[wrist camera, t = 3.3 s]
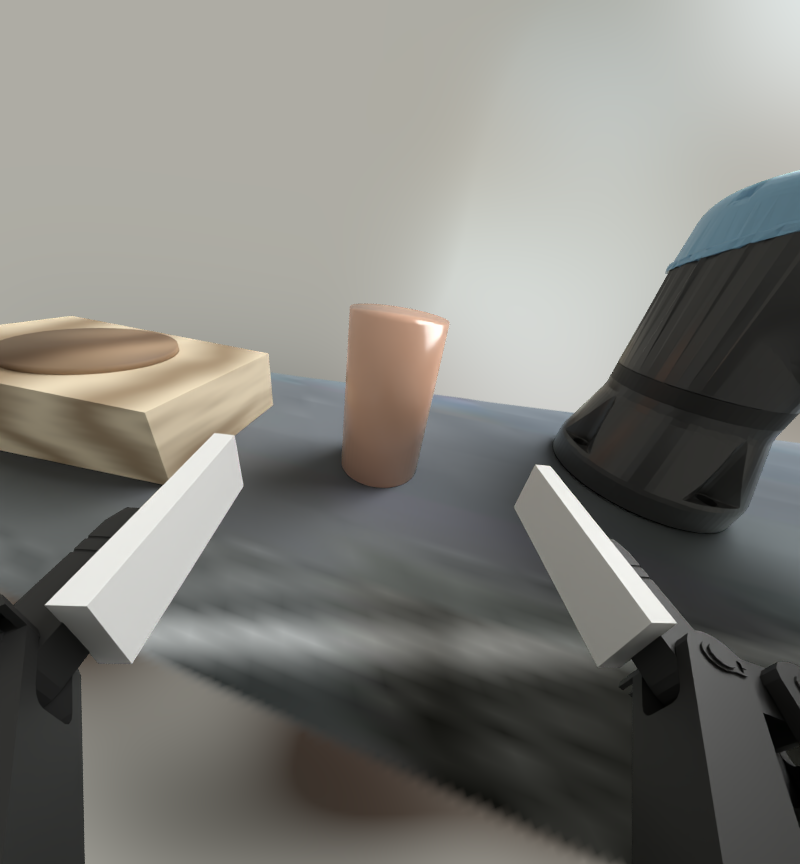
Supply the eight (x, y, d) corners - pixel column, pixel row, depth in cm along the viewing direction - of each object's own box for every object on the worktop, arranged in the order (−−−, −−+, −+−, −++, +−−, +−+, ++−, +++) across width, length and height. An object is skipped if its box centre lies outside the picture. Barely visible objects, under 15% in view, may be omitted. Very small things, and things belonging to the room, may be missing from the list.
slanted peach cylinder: (431, 469, 24) (469, 325, 18) (372, 499, 20) (396, 327, 14) (384, 434, 28) (402, 305, 22) (326, 454, 24) (330, 301, 18)
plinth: (273, 405, 30) (267, 348, 27) (170, 486, 19) (141, 404, 15) (94, 369, 30) (69, 310, 27) (-108, 427, 19) (-188, 338, 16)
